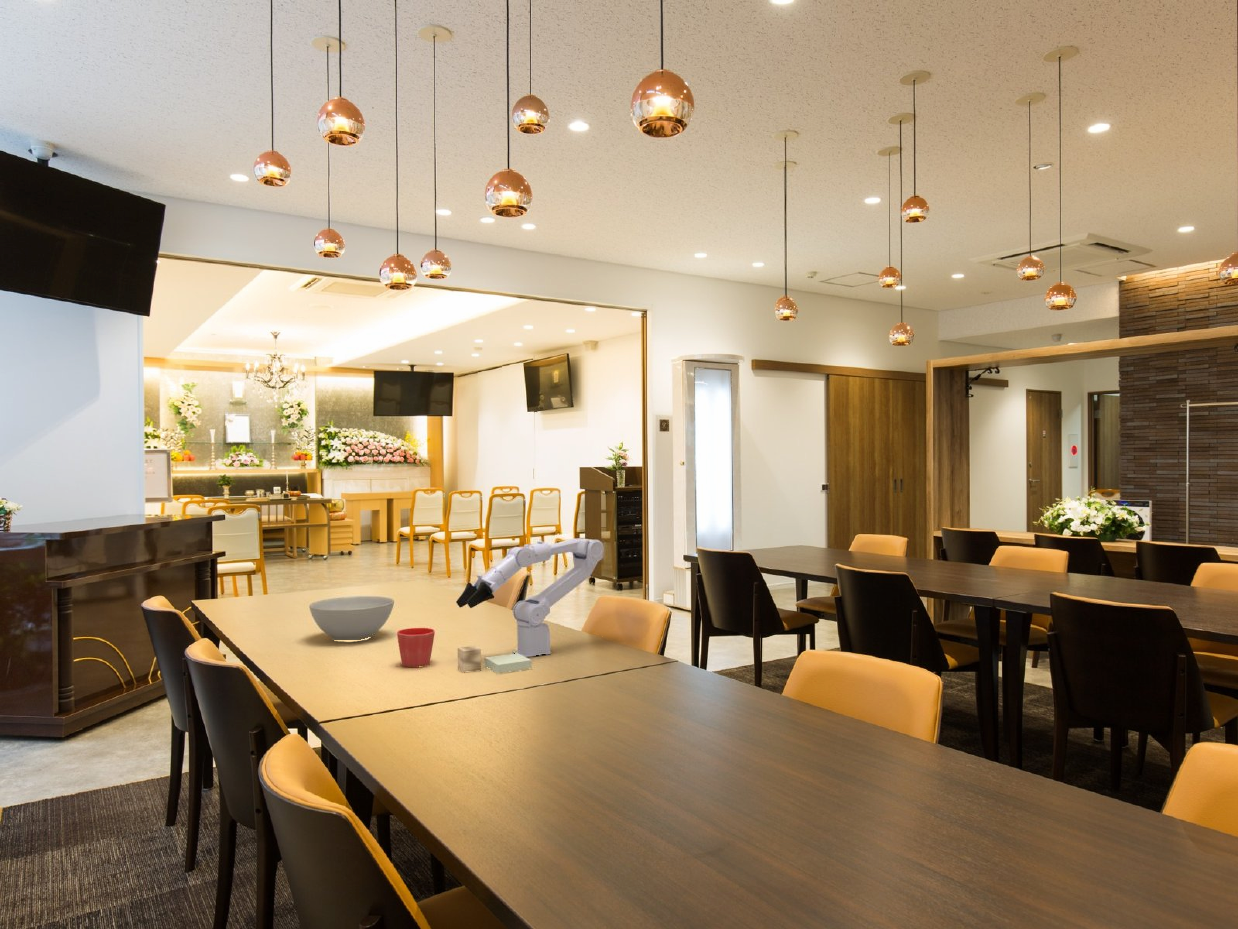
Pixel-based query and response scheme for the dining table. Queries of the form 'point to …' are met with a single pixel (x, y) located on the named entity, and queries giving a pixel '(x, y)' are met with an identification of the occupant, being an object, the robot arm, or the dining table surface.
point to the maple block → (469, 658)
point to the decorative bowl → (351, 616)
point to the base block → (507, 663)
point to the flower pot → (415, 646)
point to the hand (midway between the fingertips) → (463, 605)
